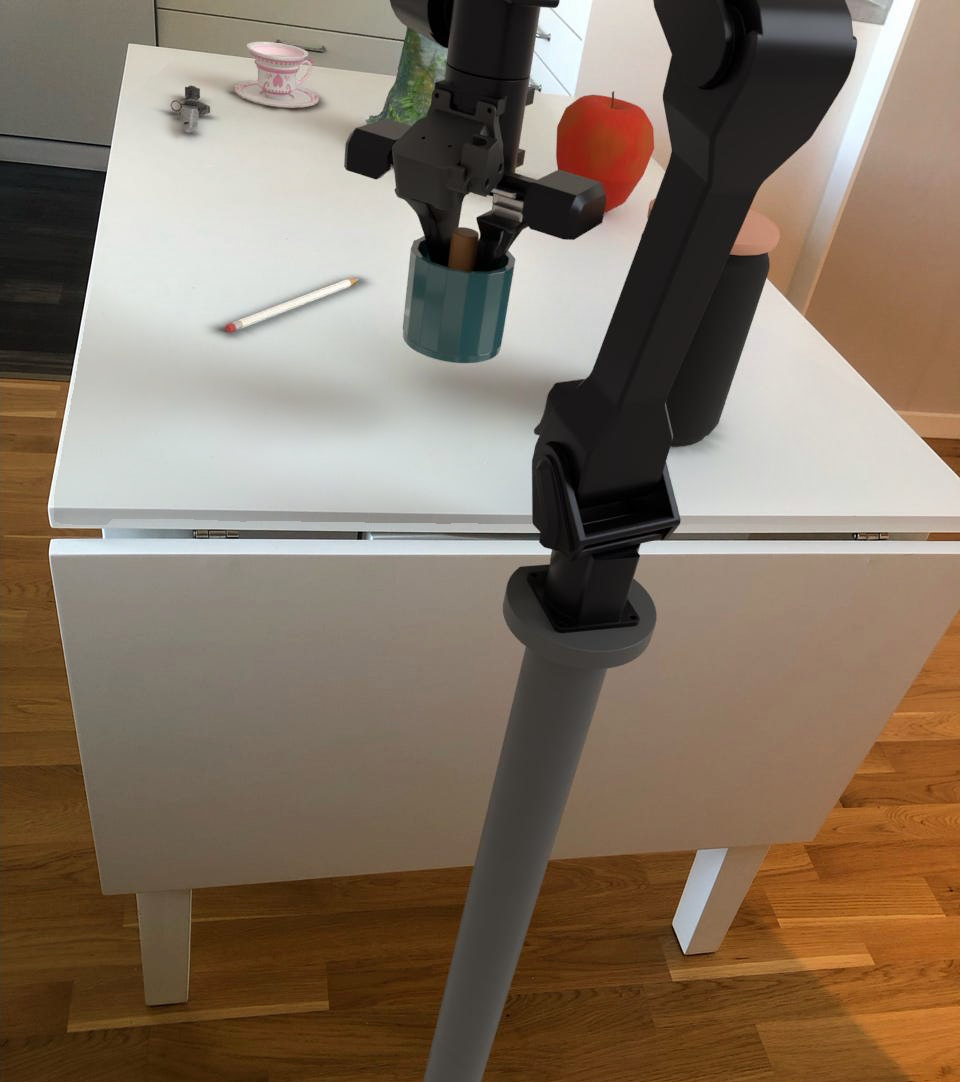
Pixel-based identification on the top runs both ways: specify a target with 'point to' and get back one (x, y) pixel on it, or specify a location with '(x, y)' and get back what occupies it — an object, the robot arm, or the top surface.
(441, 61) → the tree stump
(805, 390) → the top surface
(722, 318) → the coffee jar
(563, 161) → the apple
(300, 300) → the pencil
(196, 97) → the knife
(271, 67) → the teacup
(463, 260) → the tan wooden dowel
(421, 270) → the teal cup
